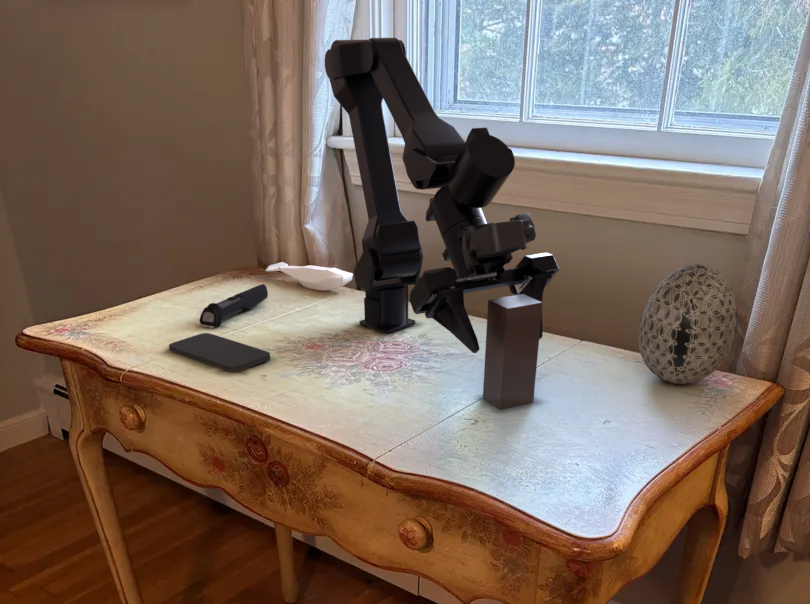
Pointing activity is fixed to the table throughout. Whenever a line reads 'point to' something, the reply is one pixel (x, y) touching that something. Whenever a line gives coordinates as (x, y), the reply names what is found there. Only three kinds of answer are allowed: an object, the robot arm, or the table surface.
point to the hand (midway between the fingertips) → (508, 345)
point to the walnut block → (511, 350)
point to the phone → (219, 352)
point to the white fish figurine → (314, 275)
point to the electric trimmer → (232, 306)
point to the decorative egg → (688, 325)
